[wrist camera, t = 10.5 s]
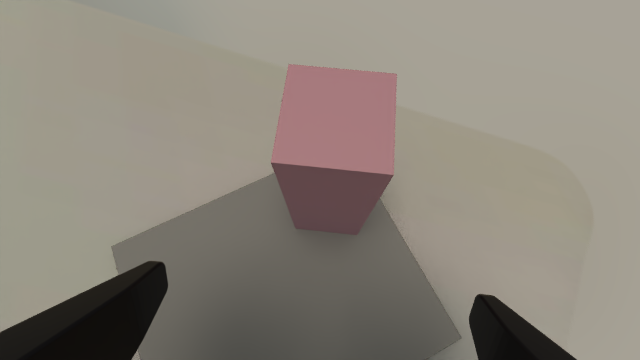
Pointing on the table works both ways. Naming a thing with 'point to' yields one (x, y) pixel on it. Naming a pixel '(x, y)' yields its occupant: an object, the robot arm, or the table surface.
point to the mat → (285, 286)
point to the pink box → (334, 145)
